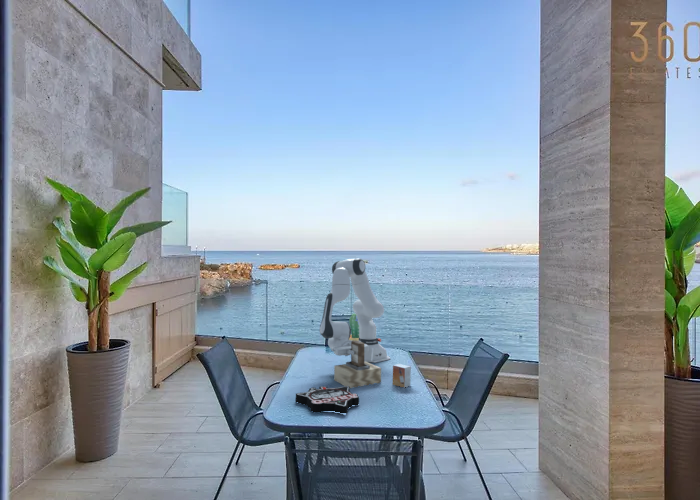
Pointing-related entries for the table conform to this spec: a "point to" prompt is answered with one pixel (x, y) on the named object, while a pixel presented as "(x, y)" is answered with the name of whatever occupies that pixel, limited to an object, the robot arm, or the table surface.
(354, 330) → the potted cactus
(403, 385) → the small box
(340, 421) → the table surface
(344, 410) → the wall plaque
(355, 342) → the tall brown block
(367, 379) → the beige rectangular block
